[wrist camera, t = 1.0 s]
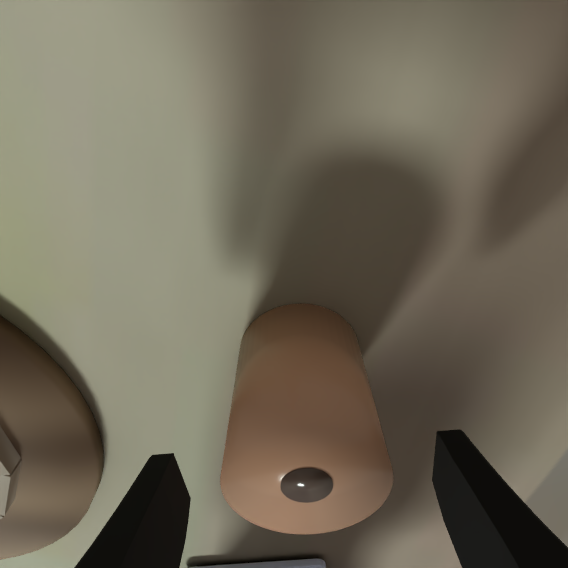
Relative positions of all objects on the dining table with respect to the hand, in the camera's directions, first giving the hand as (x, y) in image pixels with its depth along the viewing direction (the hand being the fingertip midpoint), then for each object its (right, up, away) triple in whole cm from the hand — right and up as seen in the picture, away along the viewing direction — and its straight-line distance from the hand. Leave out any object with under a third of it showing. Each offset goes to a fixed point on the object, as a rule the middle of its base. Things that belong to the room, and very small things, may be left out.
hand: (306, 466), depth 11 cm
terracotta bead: (0, +2, +4) cm, 5 cm away
